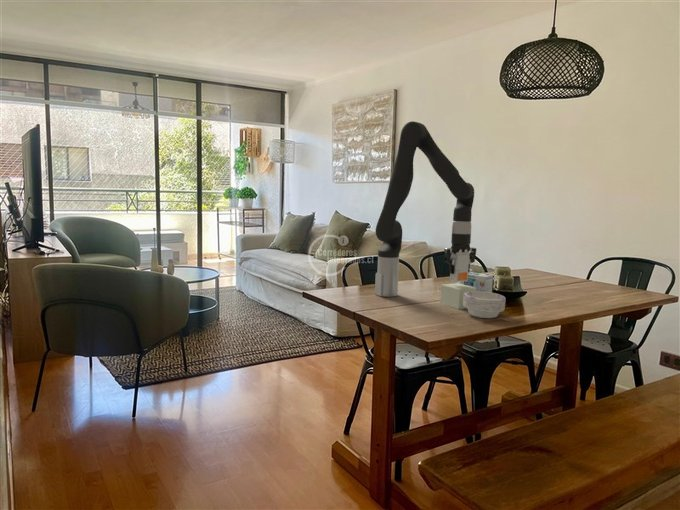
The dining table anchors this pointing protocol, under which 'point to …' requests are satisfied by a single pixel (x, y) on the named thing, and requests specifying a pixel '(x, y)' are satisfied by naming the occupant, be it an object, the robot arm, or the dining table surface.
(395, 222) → the robot arm
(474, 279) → the light bulb box
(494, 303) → the paper bowls
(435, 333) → the dining table surface
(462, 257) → the skincare box
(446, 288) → the sage block
